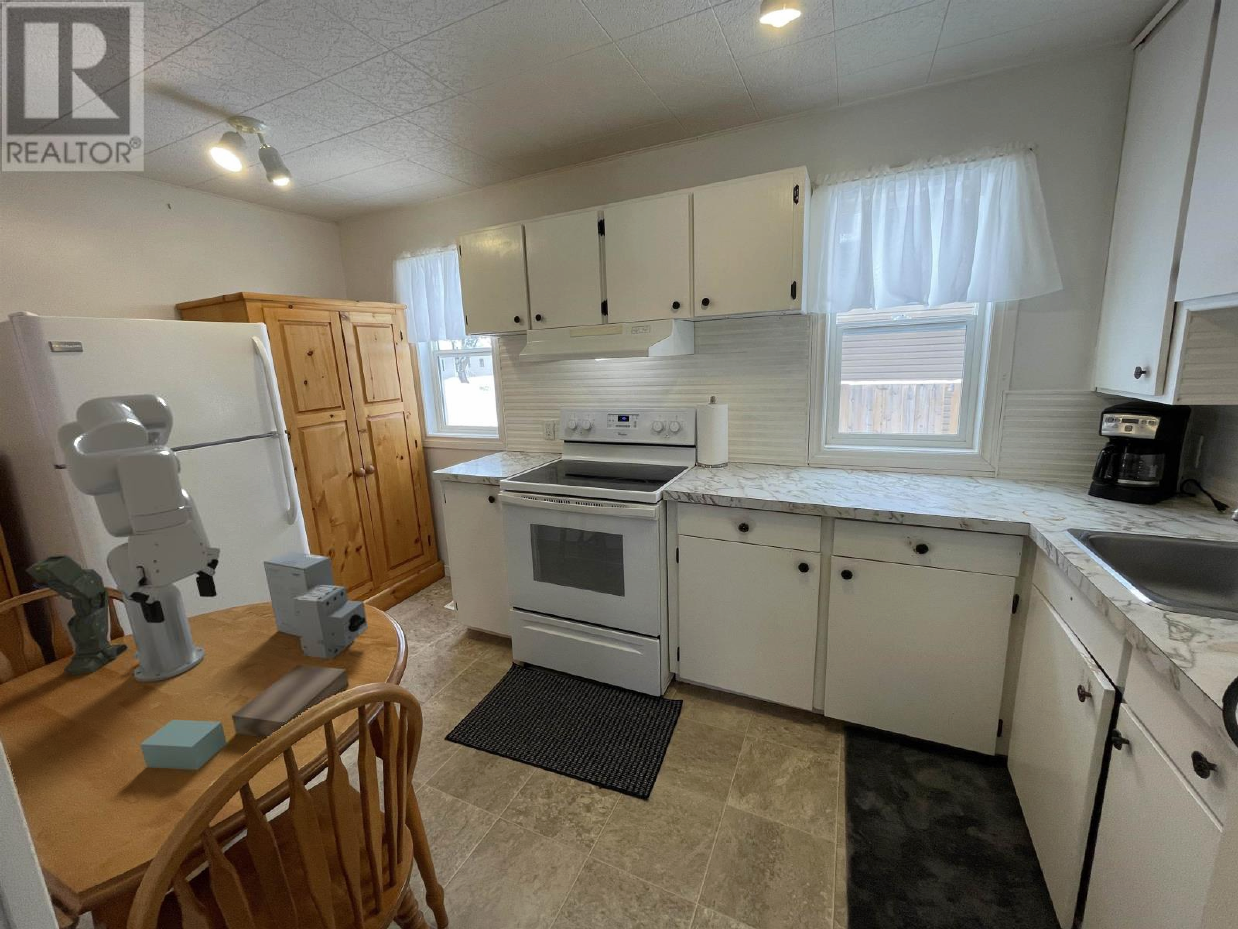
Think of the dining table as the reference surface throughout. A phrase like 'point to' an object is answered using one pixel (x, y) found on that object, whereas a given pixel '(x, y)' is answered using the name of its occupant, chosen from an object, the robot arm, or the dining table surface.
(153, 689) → the dining table surface
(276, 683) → the stand
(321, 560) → the grey switch module
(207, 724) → the light teal rectangular block
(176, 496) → the robot arm
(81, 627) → the mechanical leg
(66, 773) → the dining table surface
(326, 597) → the circuit breaker
